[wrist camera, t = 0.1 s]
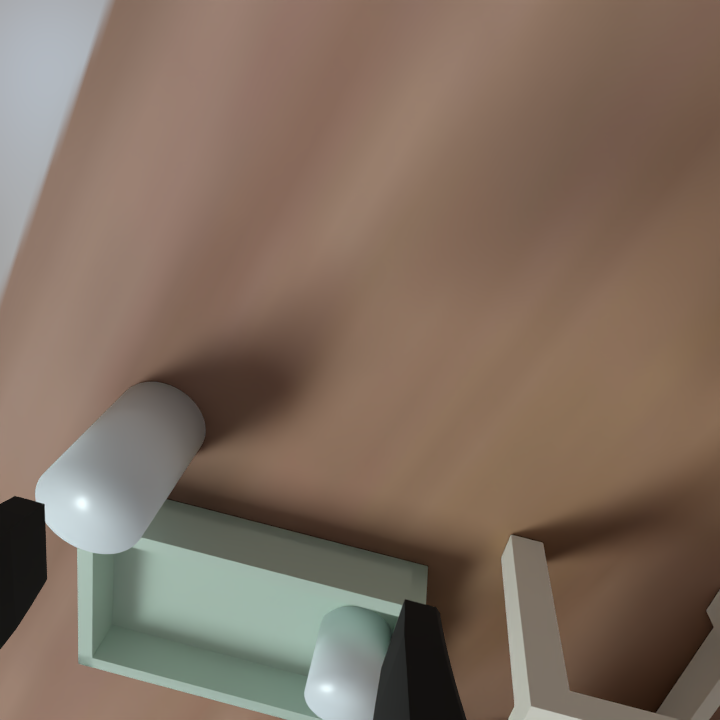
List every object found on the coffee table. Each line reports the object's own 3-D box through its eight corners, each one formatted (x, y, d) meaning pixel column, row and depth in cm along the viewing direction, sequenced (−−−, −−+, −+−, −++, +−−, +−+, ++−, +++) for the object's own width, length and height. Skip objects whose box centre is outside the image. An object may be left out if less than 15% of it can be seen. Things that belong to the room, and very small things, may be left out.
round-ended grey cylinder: (201, 470, 24) (142, 565, 19) (115, 448, 24) (37, 538, 19) (209, 394, 22) (147, 479, 18) (118, 371, 22) (33, 450, 18)
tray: (383, 695, 28) (374, 776, 25) (104, 621, 28) (60, 691, 25) (428, 566, 24) (424, 641, 21) (107, 483, 24) (56, 545, 21)
